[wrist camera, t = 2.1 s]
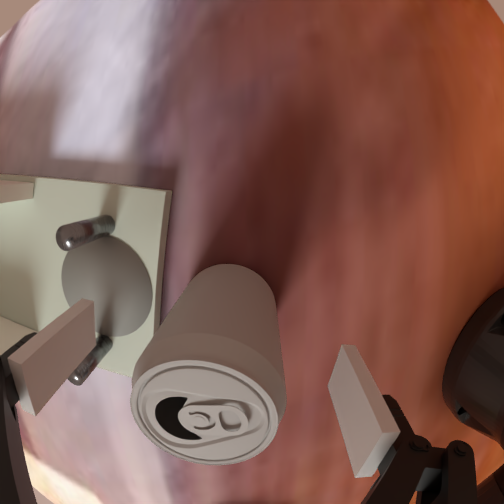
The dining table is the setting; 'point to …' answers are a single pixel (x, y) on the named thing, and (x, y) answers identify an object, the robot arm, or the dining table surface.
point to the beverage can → (213, 371)
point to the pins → (71, 239)
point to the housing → (3, 330)
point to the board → (86, 261)
